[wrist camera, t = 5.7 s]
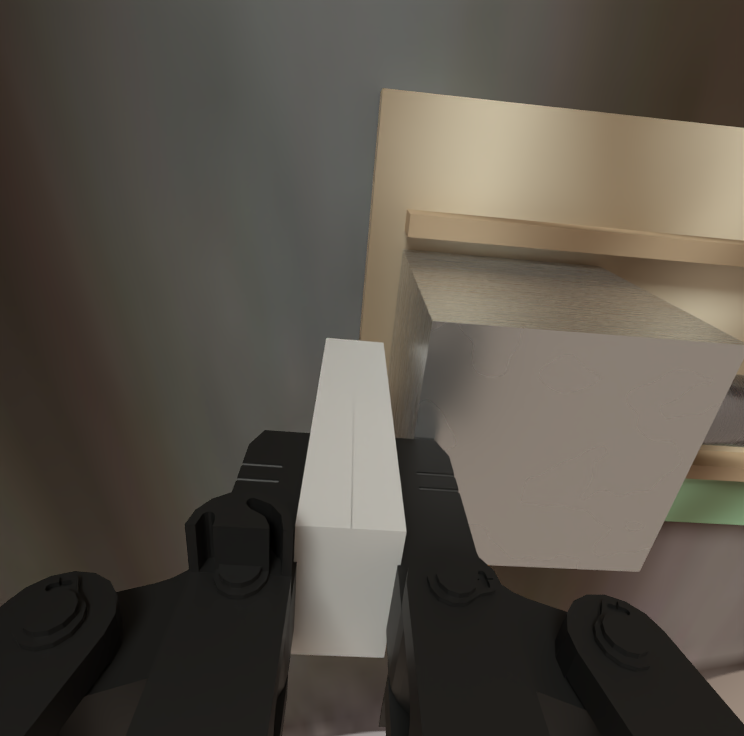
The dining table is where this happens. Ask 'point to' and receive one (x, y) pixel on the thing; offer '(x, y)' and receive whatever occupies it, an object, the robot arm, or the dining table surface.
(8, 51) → the dining table surface
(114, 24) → the dining table surface
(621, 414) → the cube with metal rod
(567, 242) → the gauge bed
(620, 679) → the robot arm
